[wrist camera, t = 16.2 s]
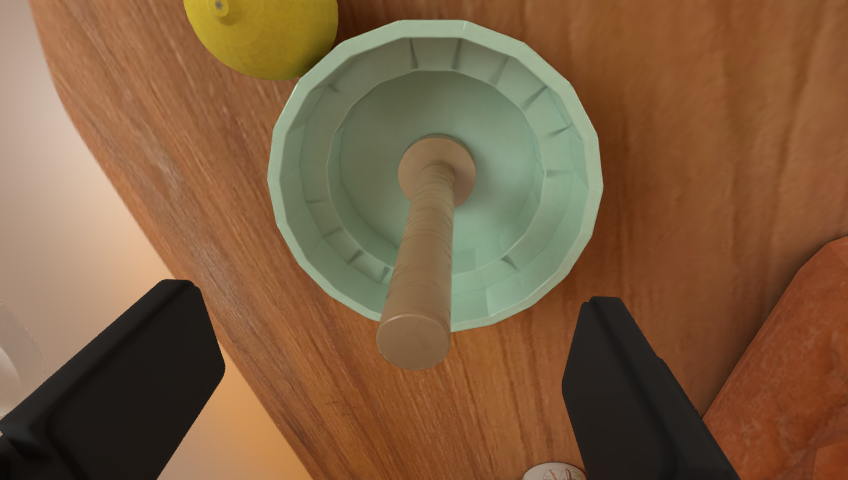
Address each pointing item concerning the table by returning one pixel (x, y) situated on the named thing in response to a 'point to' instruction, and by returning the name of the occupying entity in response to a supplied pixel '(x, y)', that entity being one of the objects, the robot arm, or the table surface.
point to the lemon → (266, 34)
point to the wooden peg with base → (425, 252)
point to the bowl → (425, 114)
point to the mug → (554, 472)
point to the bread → (793, 382)
